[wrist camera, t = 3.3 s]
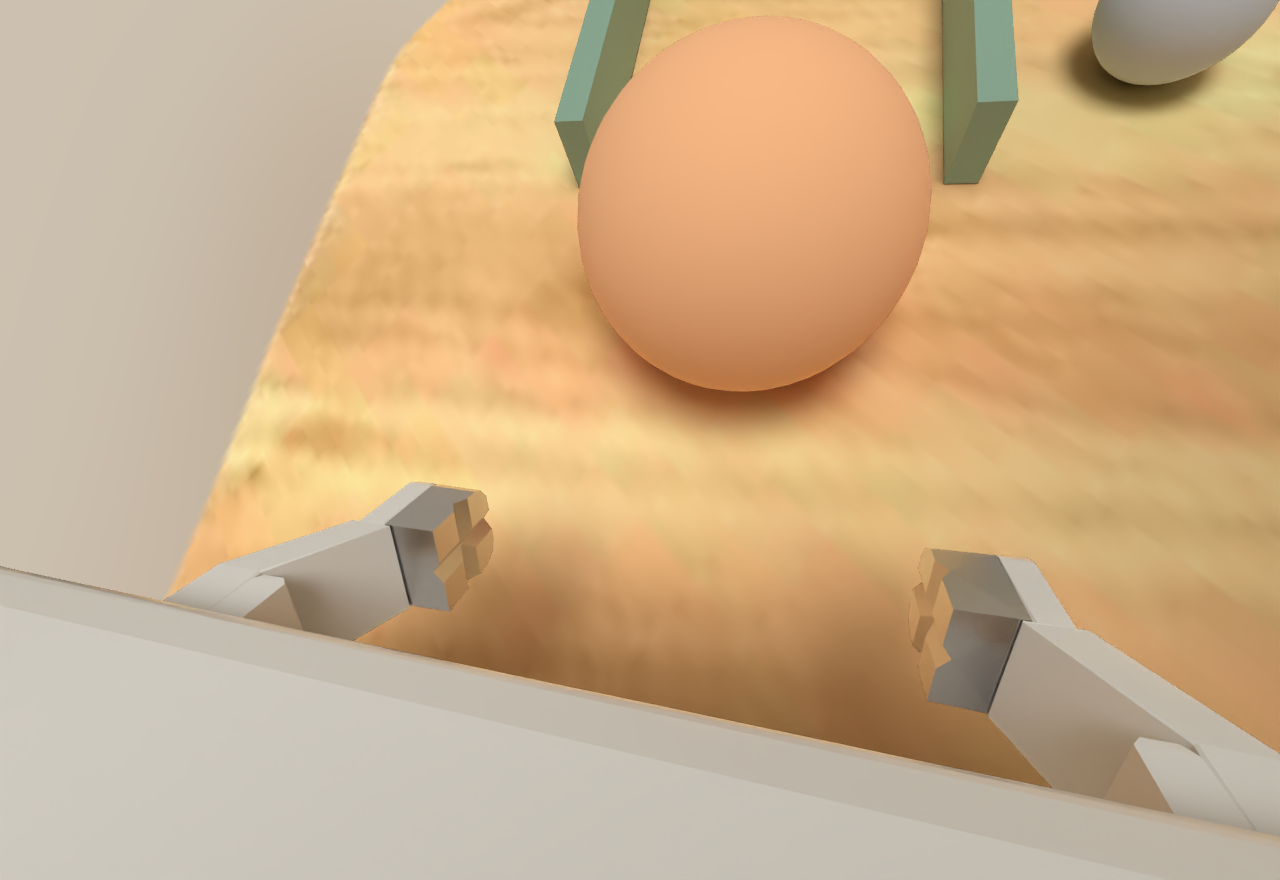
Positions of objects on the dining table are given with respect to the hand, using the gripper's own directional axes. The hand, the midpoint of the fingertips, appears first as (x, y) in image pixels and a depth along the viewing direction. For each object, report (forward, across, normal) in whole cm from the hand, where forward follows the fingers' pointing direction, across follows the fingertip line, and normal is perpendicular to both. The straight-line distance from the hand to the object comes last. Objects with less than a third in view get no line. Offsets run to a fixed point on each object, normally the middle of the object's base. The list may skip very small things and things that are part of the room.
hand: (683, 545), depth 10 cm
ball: (+10, 0, -5) cm, 11 cm away
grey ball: (+20, -14, -12) cm, 27 cm away
